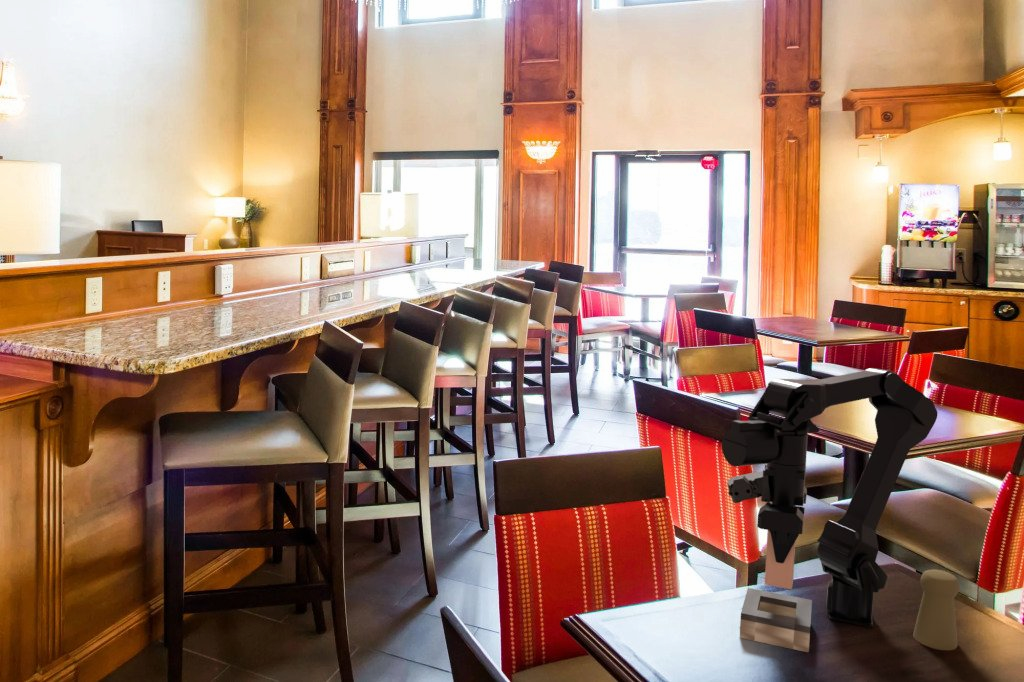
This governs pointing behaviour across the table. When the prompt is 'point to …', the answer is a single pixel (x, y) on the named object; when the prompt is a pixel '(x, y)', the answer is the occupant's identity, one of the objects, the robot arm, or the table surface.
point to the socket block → (776, 619)
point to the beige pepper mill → (937, 611)
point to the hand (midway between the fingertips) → (780, 557)
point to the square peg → (779, 567)
